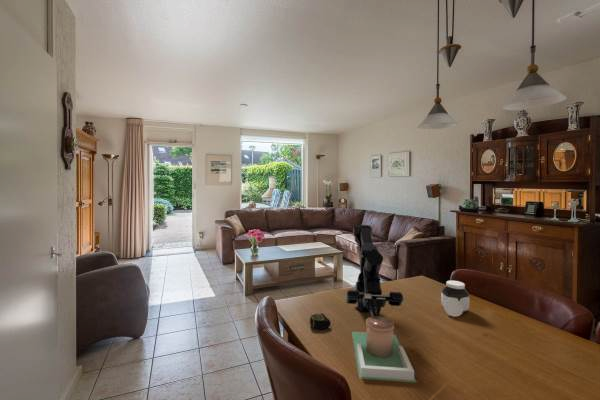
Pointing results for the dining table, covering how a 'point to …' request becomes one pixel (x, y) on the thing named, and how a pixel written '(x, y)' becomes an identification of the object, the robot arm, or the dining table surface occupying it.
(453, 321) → the dining table surface
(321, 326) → the tape measure
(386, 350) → the terracotta pot
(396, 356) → the green mat
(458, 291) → the spread jar
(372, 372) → the white rail holder
